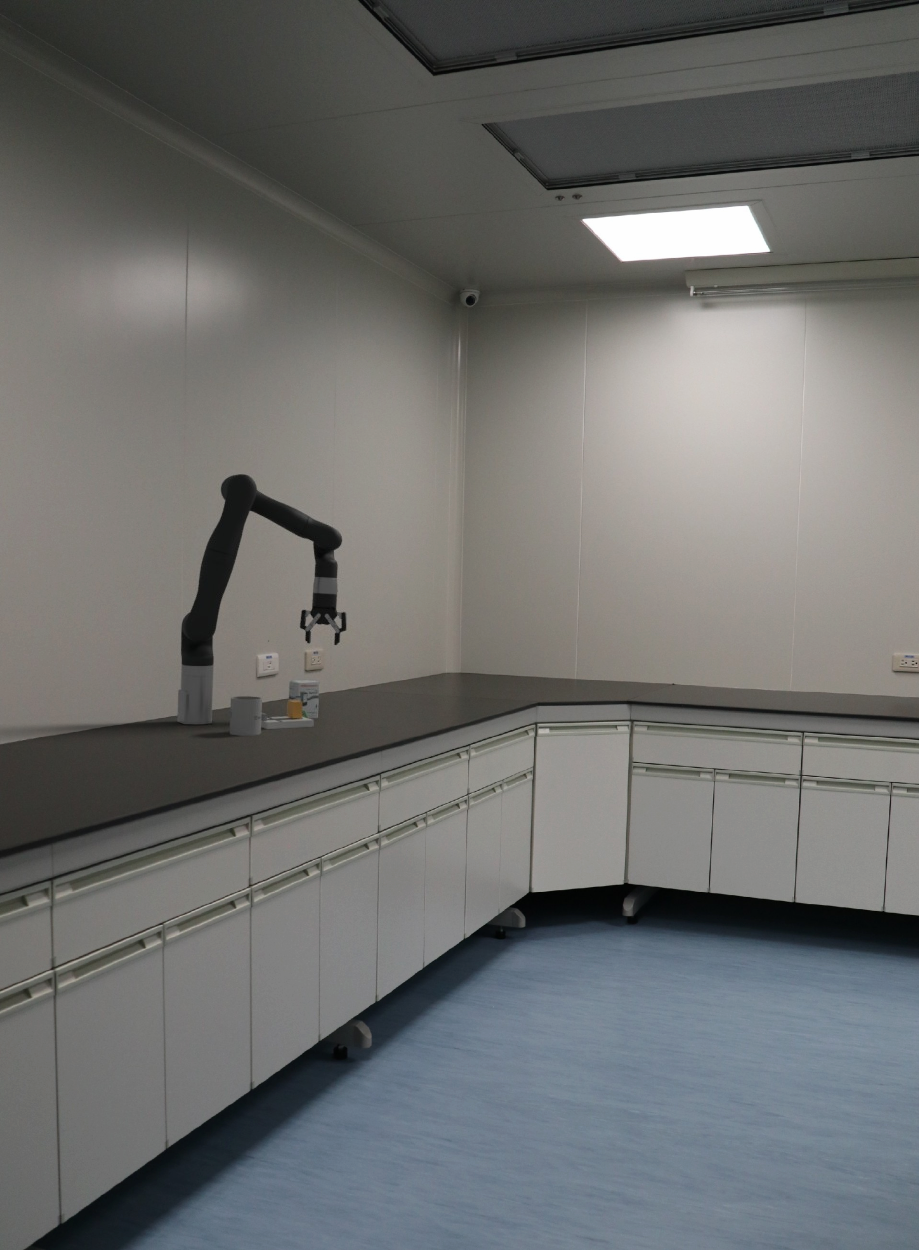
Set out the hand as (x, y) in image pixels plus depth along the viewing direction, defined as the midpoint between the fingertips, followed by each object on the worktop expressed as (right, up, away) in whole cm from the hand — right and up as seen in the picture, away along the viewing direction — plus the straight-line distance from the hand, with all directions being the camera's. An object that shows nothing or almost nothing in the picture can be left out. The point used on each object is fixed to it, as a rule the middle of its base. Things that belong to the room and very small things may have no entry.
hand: (322, 644), depth 326 cm
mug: (-17, -25, -30) cm, 43 cm away
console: (-10, -24, -15) cm, 30 cm away
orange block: (-7, -22, -13) cm, 26 cm away
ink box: (-7, -24, +4) cm, 25 cm away
